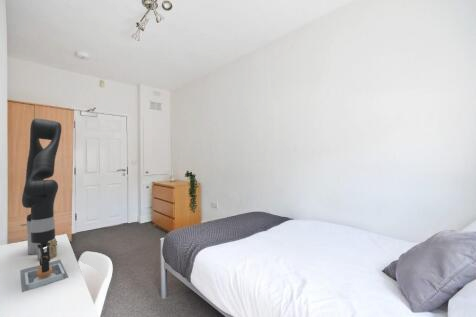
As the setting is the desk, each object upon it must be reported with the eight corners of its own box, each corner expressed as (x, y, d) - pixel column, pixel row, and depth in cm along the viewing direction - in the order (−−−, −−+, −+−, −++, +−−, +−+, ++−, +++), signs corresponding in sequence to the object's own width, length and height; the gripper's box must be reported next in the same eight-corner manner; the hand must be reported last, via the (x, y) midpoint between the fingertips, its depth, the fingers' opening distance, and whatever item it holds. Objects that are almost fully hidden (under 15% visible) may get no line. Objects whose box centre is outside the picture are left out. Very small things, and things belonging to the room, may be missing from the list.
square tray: (24, 277, 95) (24, 272, 95) (60, 267, 103) (59, 262, 103) (26, 290, 85) (26, 285, 85) (65, 278, 93) (64, 273, 93)
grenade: (45, 262, 110) (44, 231, 109) (33, 261, 111) (32, 230, 111) (60, 255, 117) (59, 226, 117) (49, 255, 118) (48, 226, 118)
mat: (20, 271, 101) (20, 270, 101) (60, 260, 111) (60, 259, 111) (22, 293, 84) (21, 292, 84) (68, 278, 94) (68, 277, 94)
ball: (51, 273, 98) (51, 261, 97) (53, 277, 94) (52, 265, 94) (36, 277, 94) (35, 265, 94) (37, 282, 90) (36, 269, 90)
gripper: (57, 230, 91) (58, 270, 92) (52, 223, 102) (53, 259, 102) (31, 235, 86) (33, 278, 86) (29, 227, 96) (31, 265, 96)
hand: (44, 268), depth 94 cm, fingers open, 8 cm apart
